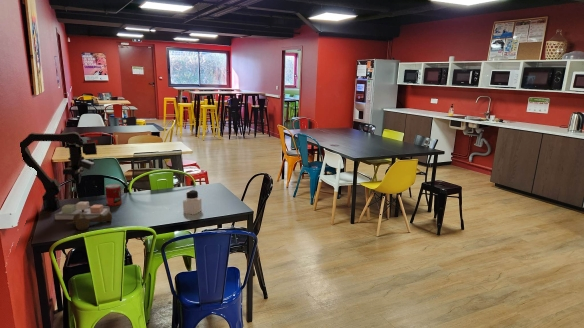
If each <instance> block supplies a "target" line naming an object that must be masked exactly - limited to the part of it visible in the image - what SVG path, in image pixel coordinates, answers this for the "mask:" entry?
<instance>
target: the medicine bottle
mask: <svg viewBox="0 0 584 328" xmlns="http://www.w3.org/2000/svg"><path fill="white" fill-rule="evenodd" d="M185 193H186V195H185V196H186V198H185V199H184V200H183V201H182V210H183V212H182V213H183V214H186V215H191V214H192V215H193V216H195V215H197V214H199V213H200V211H201V212H202V211H203V210H202V198H199V192H198V191H197V190H195V189H192V190H191V189H189V190H187V191H186V192H185ZM198 212H199V213H198Z"/></svg>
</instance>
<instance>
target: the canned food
mask: <svg viewBox="0 0 584 328" xmlns="http://www.w3.org/2000/svg"><path fill="white" fill-rule="evenodd" d="M104 188H105V199H106V206H109V207H117V206H120V205H121V204H122V202H123V201H122V187H121V184H119V183H109V184H107V185H105V187H104Z"/></svg>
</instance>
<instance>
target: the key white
mask: <svg viewBox="0 0 584 328" xmlns="http://www.w3.org/2000/svg"><path fill="white" fill-rule="evenodd" d="M75 206H76V210H86V209H87V208H88V207H89V206H90V202H89V201H78V202H77V203H76V204H75Z"/></svg>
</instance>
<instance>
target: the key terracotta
mask: <svg viewBox="0 0 584 328" xmlns="http://www.w3.org/2000/svg"><path fill="white" fill-rule="evenodd" d="M91 206H92V207H90V212H91V213H100V212H101V211H103V206H104V205H103V204H93V205H91Z"/></svg>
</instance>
